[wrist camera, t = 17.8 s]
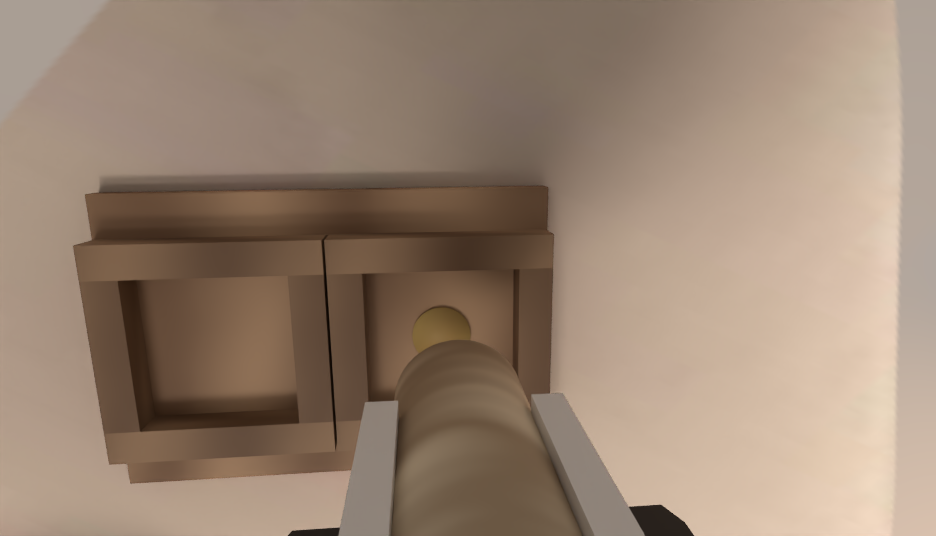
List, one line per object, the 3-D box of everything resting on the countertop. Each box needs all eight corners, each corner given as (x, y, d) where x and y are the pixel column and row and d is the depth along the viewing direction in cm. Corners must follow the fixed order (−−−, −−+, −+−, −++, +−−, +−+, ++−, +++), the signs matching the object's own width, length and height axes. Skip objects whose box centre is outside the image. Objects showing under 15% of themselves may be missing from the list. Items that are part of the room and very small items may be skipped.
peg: (396, 460, 16) (361, 945, 6) (392, 341, 15) (345, 689, 6) (520, 454, 16) (667, 907, 7) (522, 337, 16) (692, 660, 6)
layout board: (140, 471, 22) (114, 502, 20) (97, 192, 20) (63, 197, 18) (537, 448, 24) (548, 475, 22) (543, 185, 21) (556, 190, 19)
